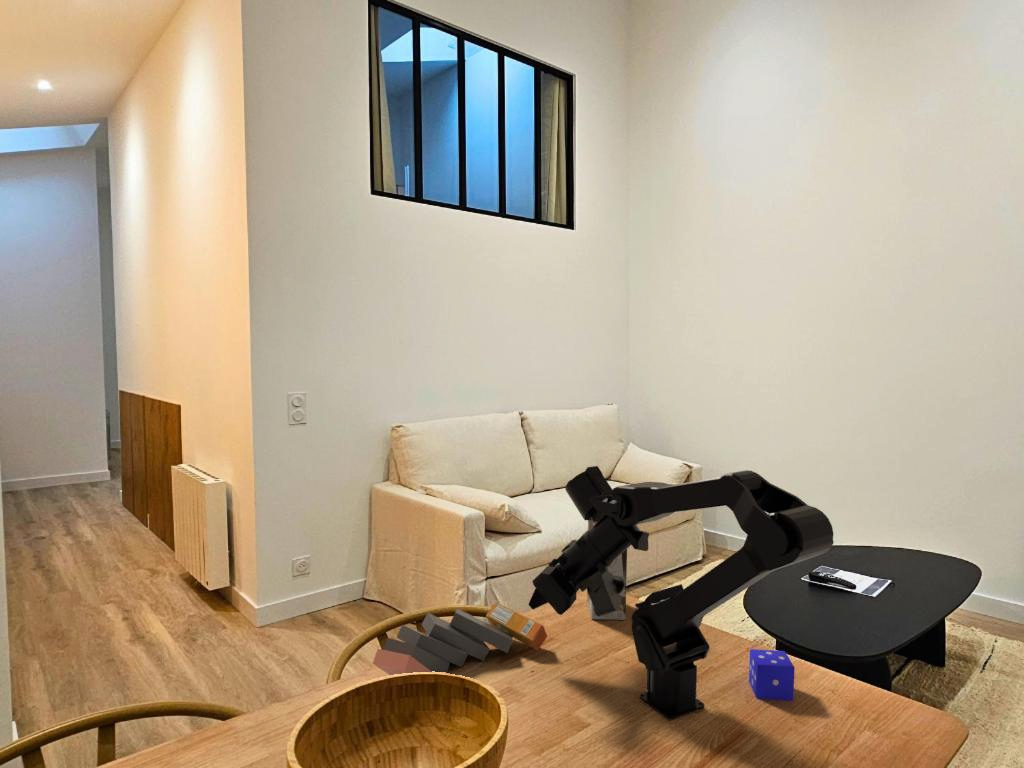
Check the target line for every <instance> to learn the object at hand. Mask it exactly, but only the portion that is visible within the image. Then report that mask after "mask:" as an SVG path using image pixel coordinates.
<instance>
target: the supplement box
mask: <svg viewBox="0 0 1024 768" xmlns="http://www.w3.org/2000/svg"><path fill="white" fill-rule="evenodd" d="M485 616H486V618H487V621H488V622H489V623H488V624H490V625H492V626H494V627H496V628H498V629H500V630H502V631H504V632H506V633H508V634H510V635H512V637H513V639H515V640H517V641H519V642H521V643H523V644H524V645H527V646H528V647H530V648H532V649H534V650H535V651H539V649H540V648H541V646H542V645H543V643H544V642H545V641H546V639H547V638H548V634H547V632H546V628H545V626H544V624H541V623H539V621H538V622H537V621H536V620H535V619H532V618H530V617H528V616H525V614H522V613H520V612H518V611H516V610H514V609H512V608H510V607H508V606H506V605H503V604H502V603H500V602H497V601H495V602H494V603H493V604H492V606H491V607H490V609H489V610H488V611H487V614H486V615H485Z"/></svg>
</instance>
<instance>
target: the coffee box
mask: <svg viewBox="0 0 1024 768" xmlns="http://www.w3.org/2000/svg"><path fill="white" fill-rule="evenodd" d="M596 523H597V522H594V521H593V520H587V530H589V529H590V528H592V527H593V526H594V525H595V524H596ZM627 565H628V548H627V549H626V550H625V551H624V552H623V553H621V554H620V555H619V556H618V557H617V558H616V559H614V560H613V561H612V564H611V565H610V566H608V567H607V568H608V571H609V573H612V575H614V576H620V577H623V579H624V582H625V584H626V586H625V587H624V589H623V590H622V591H621V592H620V595H621V596H622V599H621V605H620V607H619V609H618V610H617V611H615V612H612V613H609V614H605V615H602V616H599V617H598V616H597V615H596V614H595V612H594V606H593V604H592V601H591V599H590V597H589V594H588V592H586V603H587V605H588V611H589V613H590V614H589V615H590V617H591V620H612V621H613V620H614V621H615V620H616V621H624V620H625V621H626V616H627V615H626V614H627V613H626V611H627V609H626V607H627V574H628V573H627V571H628V567H627Z"/></svg>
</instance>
